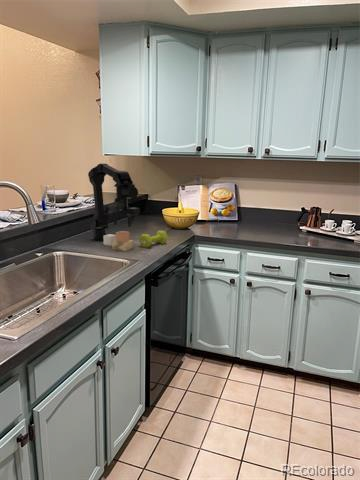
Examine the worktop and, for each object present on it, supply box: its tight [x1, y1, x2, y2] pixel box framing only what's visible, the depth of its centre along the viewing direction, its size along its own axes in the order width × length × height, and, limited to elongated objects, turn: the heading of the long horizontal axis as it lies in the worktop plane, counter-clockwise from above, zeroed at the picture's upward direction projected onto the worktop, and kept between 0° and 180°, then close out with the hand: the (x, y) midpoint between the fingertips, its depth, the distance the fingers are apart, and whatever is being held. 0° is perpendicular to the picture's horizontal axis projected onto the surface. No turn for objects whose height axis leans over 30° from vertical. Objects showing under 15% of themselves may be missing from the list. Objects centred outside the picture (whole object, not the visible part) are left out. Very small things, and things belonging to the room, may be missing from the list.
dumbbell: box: [138, 230, 168, 249], centre depth 211 cm, size 16×8×7 cm, turn 140°
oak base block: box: [111, 239, 134, 252], centre depth 203 cm, size 8×8×4 cm
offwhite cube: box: [103, 233, 116, 247], centre depth 211 cm, size 5×5×5 cm
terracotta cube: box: [115, 230, 130, 243], centre depth 202 cm, size 5×5×5 cm
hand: (122, 225), depth 202 cm, fingers open, 9 cm apart
